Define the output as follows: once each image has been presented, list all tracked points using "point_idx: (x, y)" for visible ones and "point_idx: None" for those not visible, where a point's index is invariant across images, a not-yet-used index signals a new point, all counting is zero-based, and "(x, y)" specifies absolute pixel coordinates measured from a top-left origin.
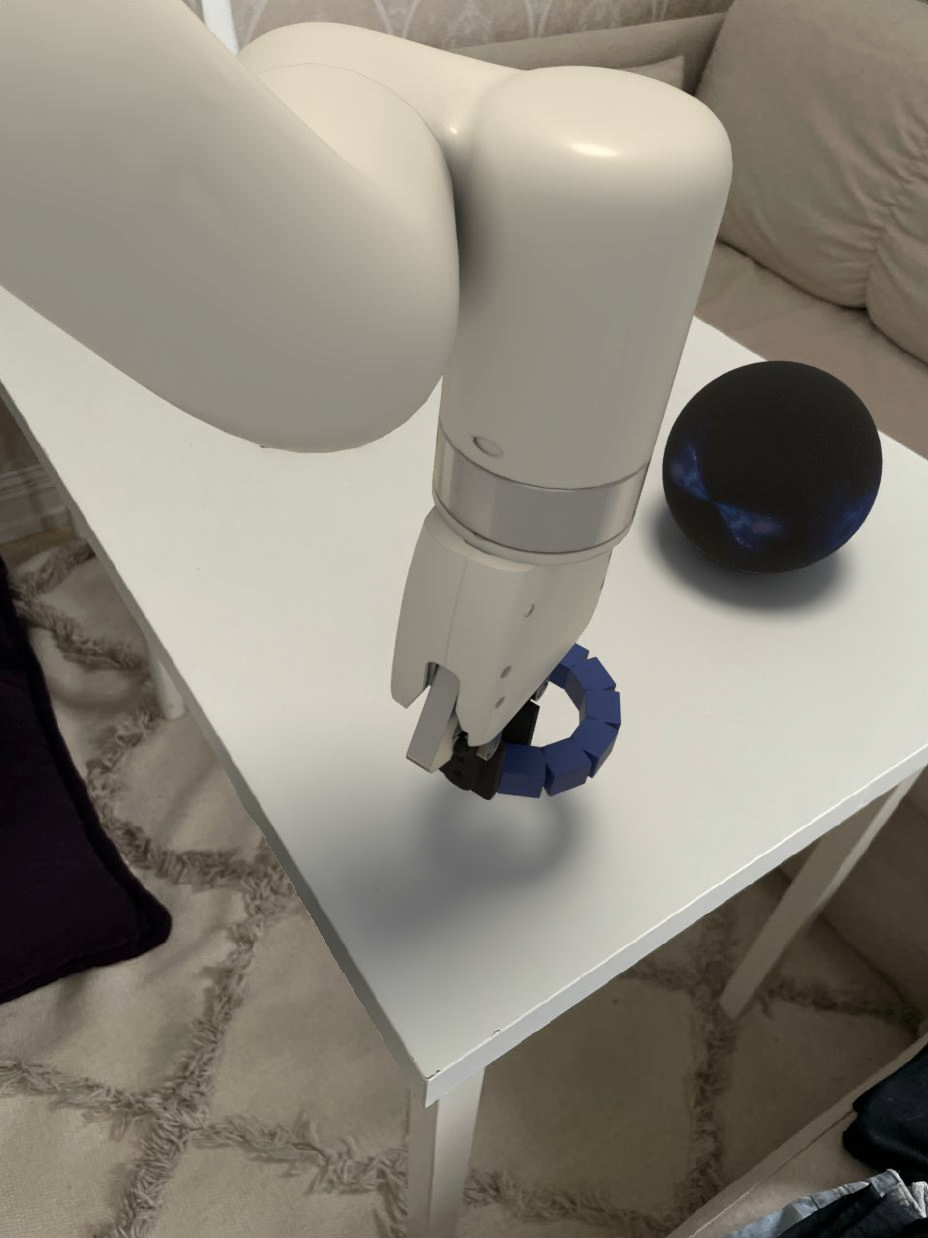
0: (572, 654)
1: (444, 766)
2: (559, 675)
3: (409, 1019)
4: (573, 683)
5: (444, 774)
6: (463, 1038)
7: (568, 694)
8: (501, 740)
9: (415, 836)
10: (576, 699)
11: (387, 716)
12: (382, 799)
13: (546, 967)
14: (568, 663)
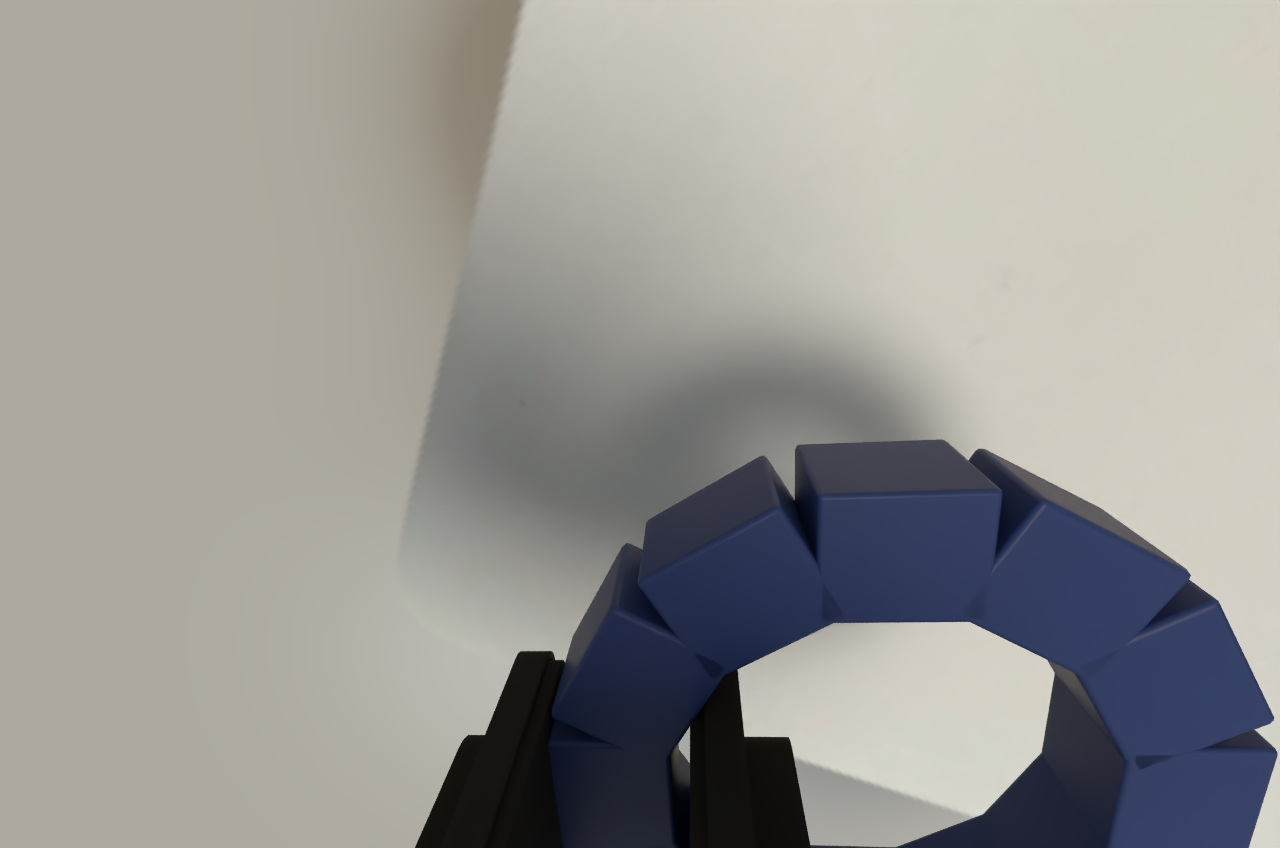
0: (1185, 837)
1: (453, 765)
2: (1074, 776)
3: (411, 565)
4: (1058, 842)
5: (467, 736)
6: (446, 632)
7: (1027, 778)
8: (668, 828)
9: (647, 389)
10: (1012, 827)
11: (854, 141)
12: (669, 286)
13: None
14: (1129, 846)
